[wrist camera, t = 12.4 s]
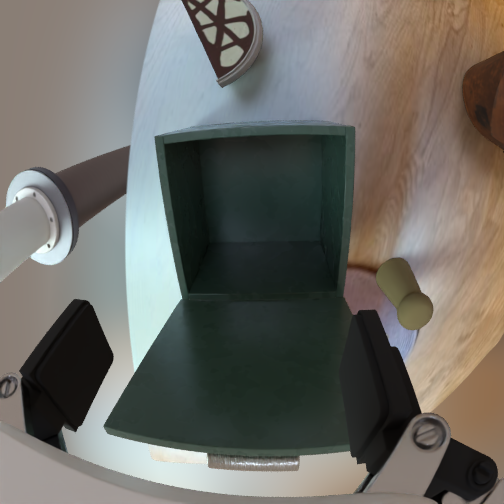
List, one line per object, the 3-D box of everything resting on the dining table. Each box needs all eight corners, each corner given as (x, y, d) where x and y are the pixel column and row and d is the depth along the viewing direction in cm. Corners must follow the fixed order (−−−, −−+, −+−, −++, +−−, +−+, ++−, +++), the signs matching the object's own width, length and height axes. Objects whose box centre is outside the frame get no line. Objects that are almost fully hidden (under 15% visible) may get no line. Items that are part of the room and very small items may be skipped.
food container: (280, 75, 30) (283, 62, 21) (232, 92, 31) (218, 86, 22) (242, -4, 25) (232, -37, 16) (196, 14, 26) (172, -13, 17)
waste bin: (192, 126, 33) (154, 136, 22) (326, 121, 32) (355, 126, 21) (205, 245, 41) (182, 299, 30) (324, 242, 40) (342, 297, 28)
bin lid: (102, 426, 13) (134, 475, 14) (404, 434, 11) (376, 482, 13) (180, 299, 29) (188, 346, 31) (344, 296, 28) (338, 345, 30)
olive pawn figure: (397, 294, 43) (421, 340, 33) (369, 284, 42) (390, 332, 33) (416, 265, 40) (447, 307, 31) (388, 252, 40) (417, 295, 30)
